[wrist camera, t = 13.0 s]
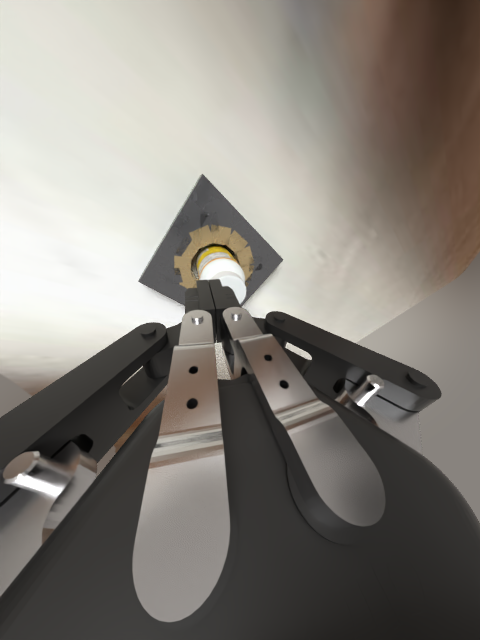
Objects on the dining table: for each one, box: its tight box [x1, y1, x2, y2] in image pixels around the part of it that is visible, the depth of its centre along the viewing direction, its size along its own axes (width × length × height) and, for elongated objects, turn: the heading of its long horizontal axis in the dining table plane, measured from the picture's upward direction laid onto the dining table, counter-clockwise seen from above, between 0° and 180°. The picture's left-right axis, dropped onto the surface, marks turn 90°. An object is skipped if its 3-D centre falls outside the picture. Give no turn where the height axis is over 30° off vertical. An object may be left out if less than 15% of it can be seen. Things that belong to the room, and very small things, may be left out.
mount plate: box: [138, 174, 283, 306], centre depth 24 cm, size 14×14×2 cm
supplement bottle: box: [196, 244, 246, 304], centre depth 21 cm, size 5×5×10 cm
